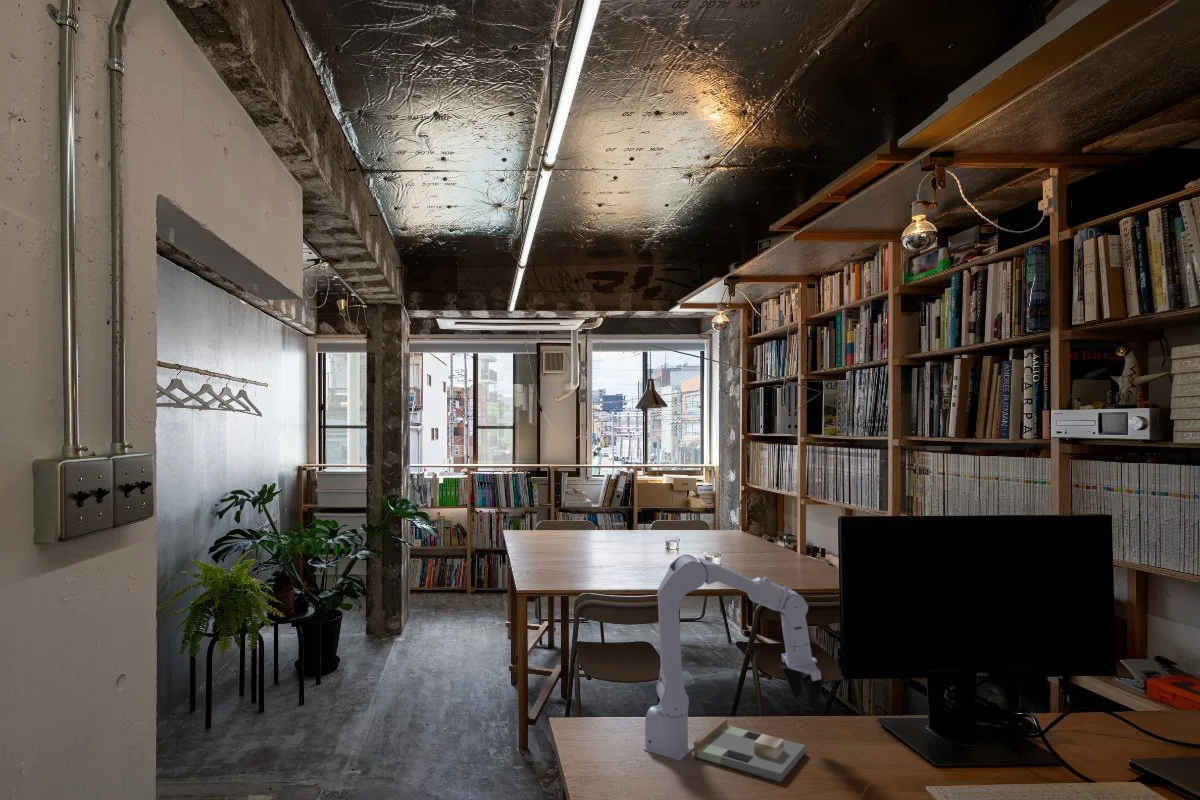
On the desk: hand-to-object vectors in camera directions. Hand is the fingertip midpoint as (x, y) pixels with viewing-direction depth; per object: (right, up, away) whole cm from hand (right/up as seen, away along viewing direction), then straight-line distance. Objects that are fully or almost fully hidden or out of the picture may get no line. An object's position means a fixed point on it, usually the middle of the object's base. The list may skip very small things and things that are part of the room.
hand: (805, 701), depth 163 cm
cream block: (-10, -8, -8) cm, 15 cm away
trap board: (-14, -10, -5) cm, 18 cm away
